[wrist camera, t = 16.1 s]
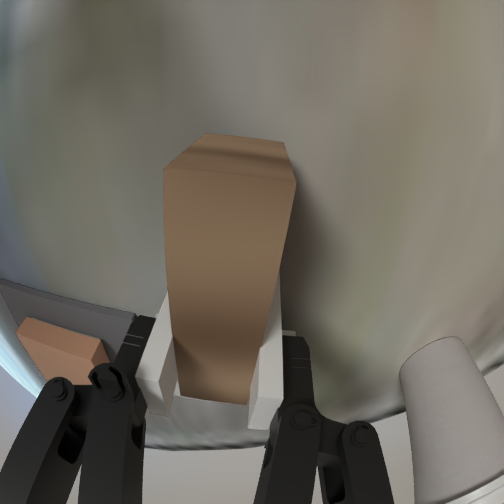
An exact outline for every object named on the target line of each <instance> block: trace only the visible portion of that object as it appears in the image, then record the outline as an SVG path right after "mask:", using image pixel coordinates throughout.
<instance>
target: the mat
mask: <svg viewBox="0 0 504 504" xmlns="http://www.w3.org/2000/svg"><path fill="white" fill-rule="evenodd" d="M0 291H1V293H2V295H3V297H4V299H5V301H6V303H7V305H8V307H9V309H10V311H11V313H12V315H13V317H14V319H15V321H16V323H17V325H18V326H19V327H20V325H21V324H22V322H23V321H24V320H25V318H26V317H30V318H35V319H38V320H41V321H44V322H47V323H50V324H53V325H56V326H59V327H62V328H65V329H68V330H72V331H75V332H78V333H82V334H85V335H89V336H93V337H96V338H100V340H101V342H102V344H103V347H104V349H105V352H106V354H107V356H108V359H109V361H110V363H114V361H115V359H116V356H117V354H118V352H119V349H120V347H121V345H122V344H123V340H124V338H125V336H126V335H127V331H128V329H129V327H130V325H131V323H132V322H133V321H134V320H135V319H136V318H135V313H130V312H125V311H120V310H116V309H111V308H106V307H102V306H98V305H93V304H89V303H85V302H81V301H77V300H73V299H69V298H65V297H61V296H57V295H53V294H50V293H46V292H43V291H39V290H36V289H32V288H29V287H25V286H22V285H19V284H16V283H12V282H9V281H6V280H3V279H0Z"/></svg>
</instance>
